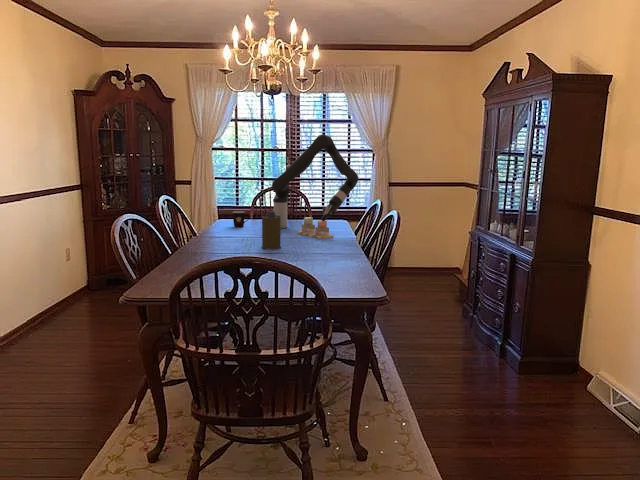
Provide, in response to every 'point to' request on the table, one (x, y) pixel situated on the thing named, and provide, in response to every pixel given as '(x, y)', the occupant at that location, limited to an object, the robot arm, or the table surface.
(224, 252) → the table surface
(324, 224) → the brown rounded piece
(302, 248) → the table surface
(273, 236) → the canister
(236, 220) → the coffee mug
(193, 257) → the table surface
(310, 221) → the pale green rounded knob
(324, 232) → the button board
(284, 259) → the table surface
